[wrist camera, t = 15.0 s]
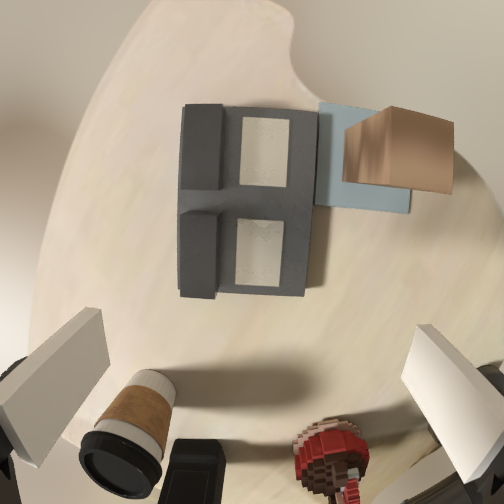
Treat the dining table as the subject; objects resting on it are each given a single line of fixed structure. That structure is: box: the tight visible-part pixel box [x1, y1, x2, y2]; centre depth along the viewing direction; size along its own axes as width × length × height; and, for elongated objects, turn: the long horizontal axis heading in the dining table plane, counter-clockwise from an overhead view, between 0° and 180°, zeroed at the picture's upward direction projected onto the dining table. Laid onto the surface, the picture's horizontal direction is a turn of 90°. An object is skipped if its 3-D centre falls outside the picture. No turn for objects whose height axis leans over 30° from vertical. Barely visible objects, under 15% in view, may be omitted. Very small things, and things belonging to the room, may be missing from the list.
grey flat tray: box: [177, 104, 317, 299], centre depth 26 cm, size 17×12×5 cm
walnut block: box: [342, 106, 454, 194], centre depth 22 cm, size 5×5×11 cm
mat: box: [314, 102, 410, 214], centre depth 27 cm, size 10×10×1 cm
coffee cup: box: [79, 370, 176, 499], centre depth 27 cm, size 8×8×15 cm
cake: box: [293, 419, 370, 504], centre depth 27 cm, size 11×9×18 cm
